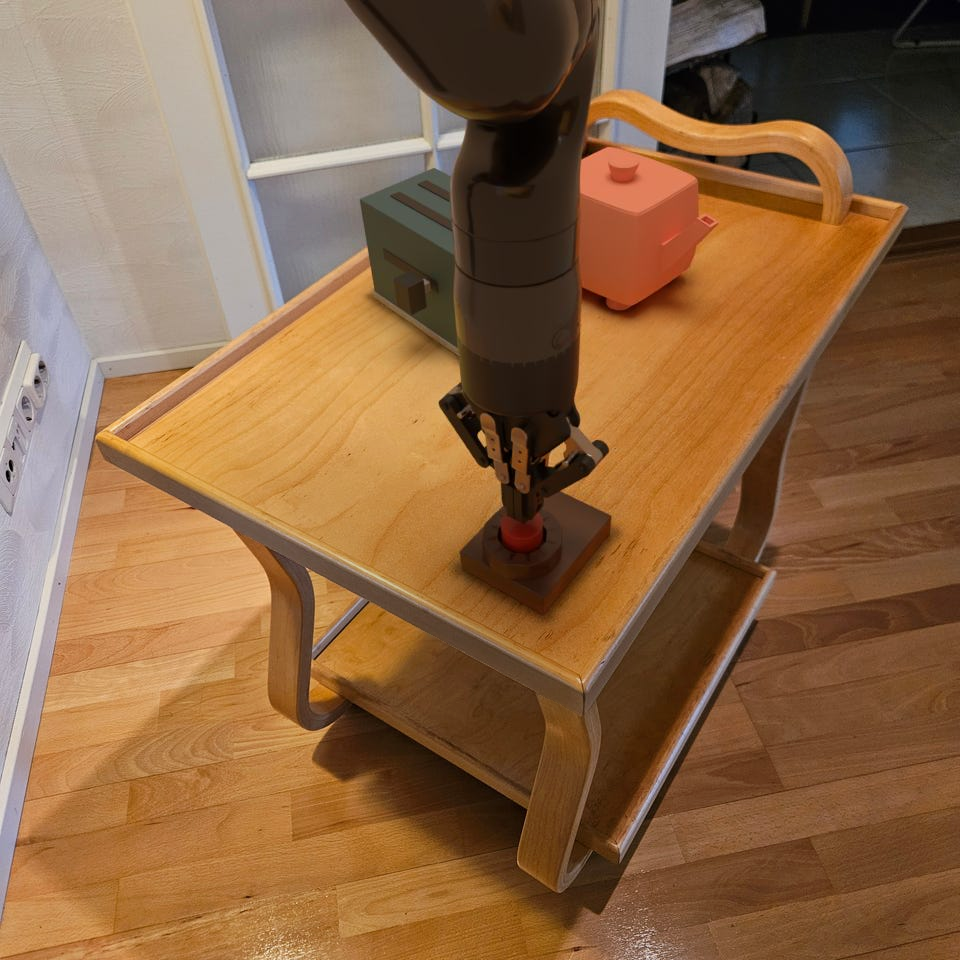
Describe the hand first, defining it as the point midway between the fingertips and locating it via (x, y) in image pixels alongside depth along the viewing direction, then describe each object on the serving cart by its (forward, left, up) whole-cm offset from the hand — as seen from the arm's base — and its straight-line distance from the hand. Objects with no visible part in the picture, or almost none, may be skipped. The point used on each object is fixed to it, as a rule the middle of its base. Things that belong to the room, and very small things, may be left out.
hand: (522, 512), depth 62 cm
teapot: (+13, +41, -7) cm, 43 cm away
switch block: (+1, +1, -6) cm, 7 cm away
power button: (0, 0, -3) cm, 3 cm away
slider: (-10, +30, -1) cm, 31 cm away
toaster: (-6, +37, -6) cm, 38 cm away
